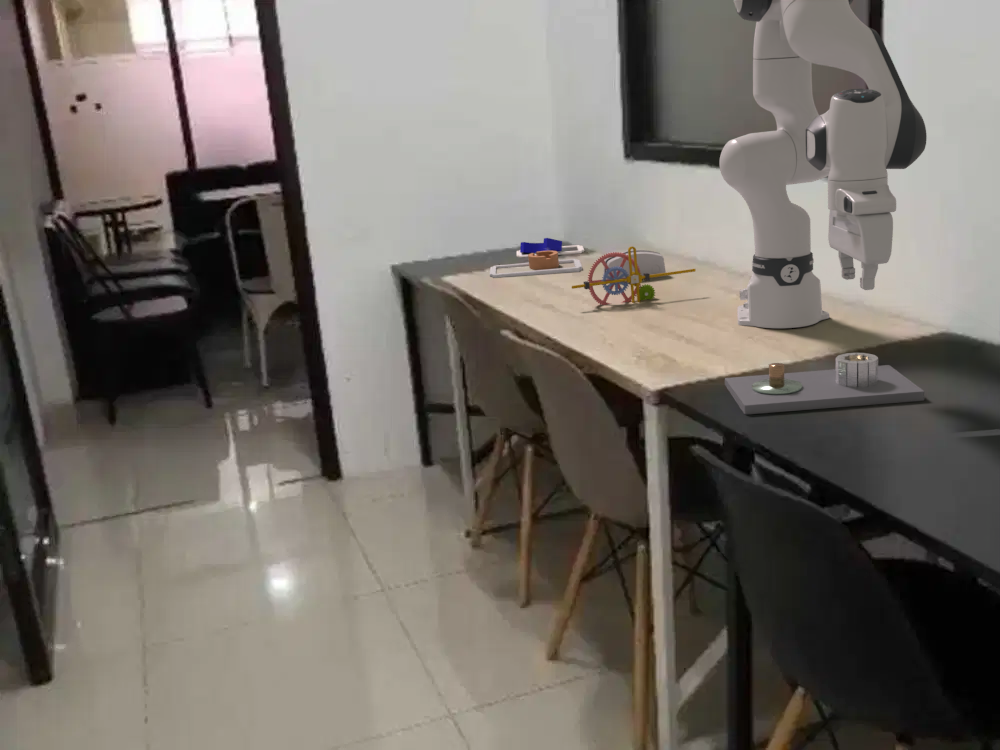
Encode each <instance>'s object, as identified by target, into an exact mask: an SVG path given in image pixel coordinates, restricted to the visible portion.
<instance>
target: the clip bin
mask: <svg viewBox="0 0 1000 750" xmlns="http://www.w3.org/2000/svg"><path fill="white" fill-rule="evenodd" d="M571 248H573V249H574V248H576V249H577V250H568V251H559V252H558V256H564V255H574V254H577V255H578V254H583V253H585V249H584V246H583V245H580V244H575V245H564V246H563V245H562V249H571ZM528 255H529V254H523V253H521V252H520V249H519V250H516V257H517V258H519V259H520V258H528ZM534 255H536V253H534Z"/></svg>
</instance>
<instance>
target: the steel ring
mask: <svg viewBox="0 0 1000 750" xmlns="http://www.w3.org/2000/svg"><path fill="white" fill-rule="evenodd" d="M852 359H861V360H864V361H850V360H852ZM878 366H879V357H878V356H877V355H875V354H871V353H866V352H847V353H842V354H838V355H837V356H836V357H835V369H836V383H838V384H839V385H843V386H847V387H868V386H872V385H875V384H876V383H877V382H878Z"/></svg>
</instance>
